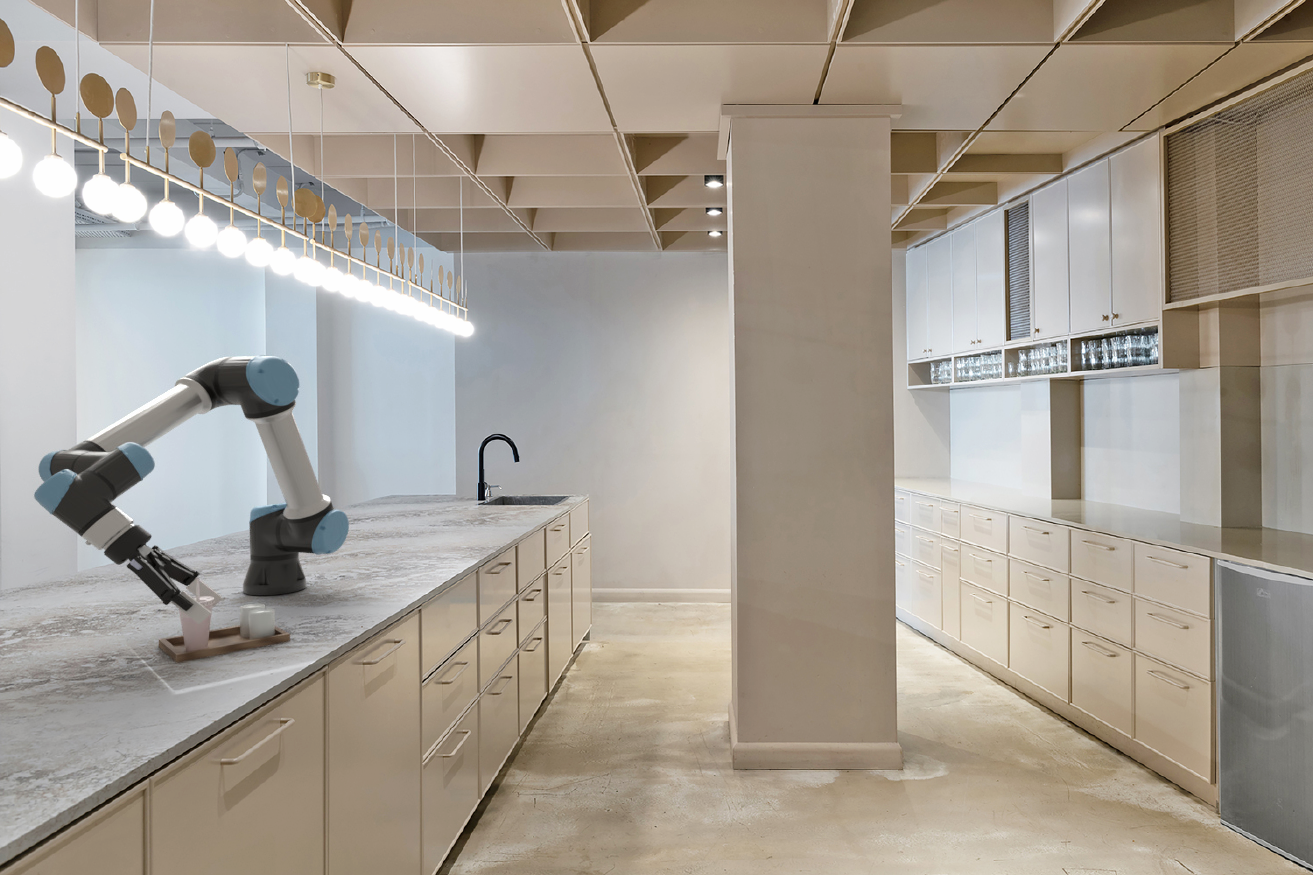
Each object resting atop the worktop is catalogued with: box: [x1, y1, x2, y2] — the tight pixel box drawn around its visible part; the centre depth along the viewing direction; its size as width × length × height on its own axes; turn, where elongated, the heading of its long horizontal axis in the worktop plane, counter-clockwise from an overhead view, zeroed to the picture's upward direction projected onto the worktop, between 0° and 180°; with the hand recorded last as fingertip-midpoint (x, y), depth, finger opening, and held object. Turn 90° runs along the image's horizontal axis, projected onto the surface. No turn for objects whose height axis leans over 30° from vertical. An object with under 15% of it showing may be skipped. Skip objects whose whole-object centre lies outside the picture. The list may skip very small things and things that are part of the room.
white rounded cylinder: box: [239, 603, 266, 638], centre depth 159 cm, size 5×5×6 cm
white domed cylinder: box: [249, 607, 276, 640], centre depth 155 cm, size 5×5×6 cm
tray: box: [158, 624, 291, 663], centre depth 153 cm, size 20×14×2 cm
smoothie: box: [176, 577, 214, 651], centre depth 149 cm, size 6×6×14 cm
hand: (211, 610), depth 150 cm, fingers open, 12 cm apart
